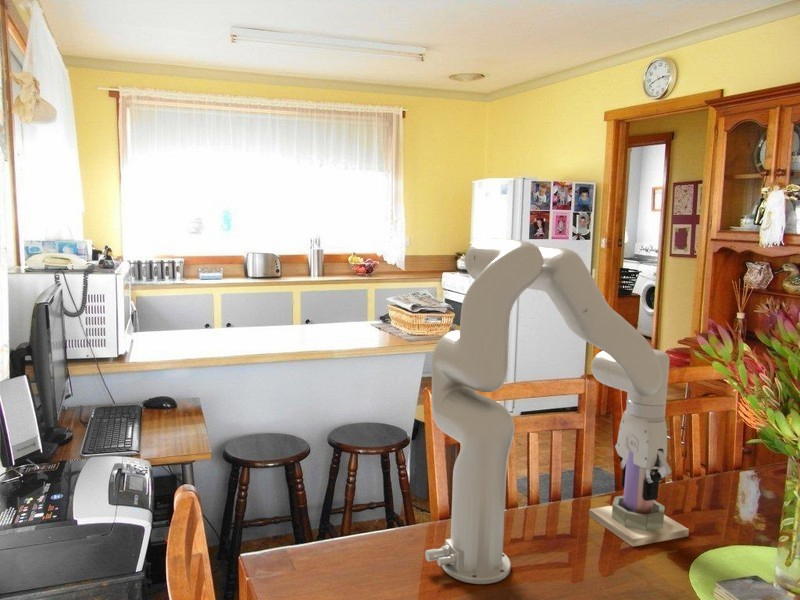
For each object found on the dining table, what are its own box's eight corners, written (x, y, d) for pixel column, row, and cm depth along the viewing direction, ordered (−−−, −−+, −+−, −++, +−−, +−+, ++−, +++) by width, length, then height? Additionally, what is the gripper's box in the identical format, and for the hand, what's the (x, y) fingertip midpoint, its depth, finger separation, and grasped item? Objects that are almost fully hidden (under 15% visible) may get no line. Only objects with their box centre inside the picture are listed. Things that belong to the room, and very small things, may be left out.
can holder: (632, 546, 129) (634, 525, 128) (588, 515, 142) (590, 495, 141) (688, 536, 134) (690, 515, 133) (640, 507, 147) (642, 488, 146)
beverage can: (620, 517, 136) (625, 448, 134) (624, 506, 141) (630, 439, 140) (650, 524, 133) (656, 453, 132) (654, 513, 139) (659, 445, 137)
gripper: (603, 399, 141) (597, 479, 143) (661, 423, 125) (653, 513, 127) (631, 397, 144) (625, 475, 146) (691, 420, 128) (684, 508, 130)
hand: (638, 492), depth 137 cm, fingers closed on beverage can, 5 cm apart
